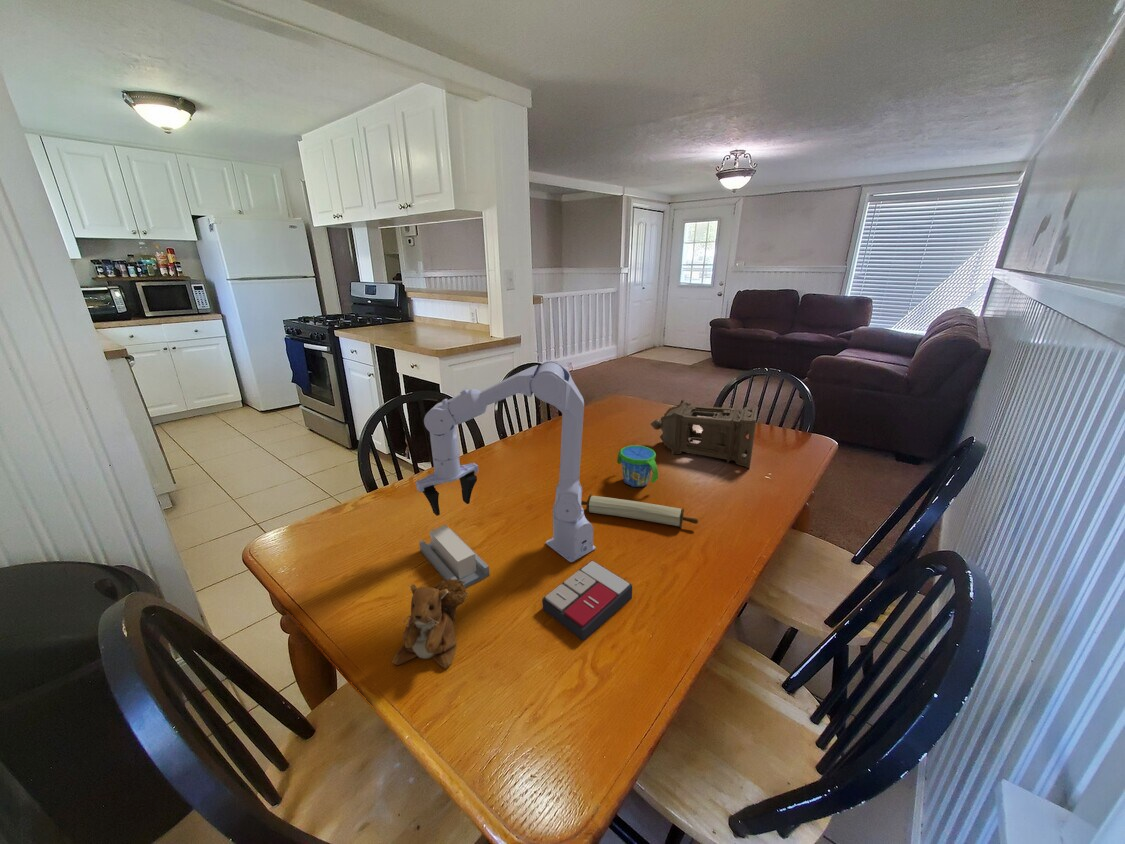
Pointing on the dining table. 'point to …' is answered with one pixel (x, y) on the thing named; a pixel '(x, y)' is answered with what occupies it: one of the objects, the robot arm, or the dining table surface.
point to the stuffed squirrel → (432, 623)
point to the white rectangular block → (453, 551)
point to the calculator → (587, 599)
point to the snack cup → (637, 465)
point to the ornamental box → (710, 431)
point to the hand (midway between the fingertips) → (451, 507)
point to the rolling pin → (636, 510)
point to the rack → (447, 572)
